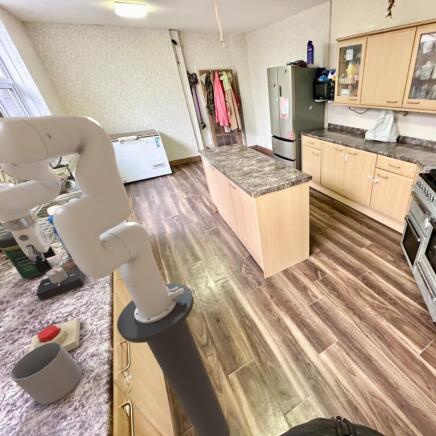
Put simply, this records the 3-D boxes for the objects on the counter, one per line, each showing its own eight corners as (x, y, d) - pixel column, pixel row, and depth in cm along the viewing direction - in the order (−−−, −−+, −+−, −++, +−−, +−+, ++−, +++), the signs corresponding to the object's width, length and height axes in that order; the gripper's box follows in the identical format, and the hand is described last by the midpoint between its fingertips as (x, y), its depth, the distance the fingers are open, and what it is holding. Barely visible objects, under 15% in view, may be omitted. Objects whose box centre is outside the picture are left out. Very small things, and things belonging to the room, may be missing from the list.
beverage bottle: (81, 259, 103) (57, 219, 93) (63, 259, 103) (38, 220, 94) (96, 248, 110) (75, 210, 101) (80, 248, 111) (57, 211, 101)
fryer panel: (84, 272, 94) (80, 266, 93) (83, 284, 88) (79, 278, 86) (45, 286, 88) (40, 280, 87) (40, 300, 82) (35, 294, 80)
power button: (60, 326, 67) (57, 322, 66) (59, 336, 64) (55, 332, 63) (42, 334, 65) (38, 330, 64) (39, 345, 62) (35, 341, 61)
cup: (83, 360, 62) (64, 335, 57) (80, 388, 55) (58, 363, 51) (41, 380, 57) (16, 356, 53) (32, 413, 51) (3, 388, 47)
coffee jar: (47, 274, 95) (19, 235, 86) (20, 282, 91) (-11, 242, 83) (53, 262, 102) (28, 225, 94) (28, 269, 99) (0, 231, 90)
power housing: (80, 322, 72) (74, 313, 71) (78, 346, 65) (71, 337, 63) (37, 341, 67) (28, 332, 65) (29, 369, 60) (20, 360, 58)
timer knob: (49, 282, 86) (43, 273, 84) (63, 274, 89) (57, 265, 87) (56, 284, 84) (49, 275, 82) (70, 276, 88) (64, 268, 86)
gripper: (30, 227, 71) (59, 271, 79) (40, 209, 83) (64, 248, 91) (-6, 236, 67) (29, 281, 75) (10, 216, 79) (38, 256, 87)
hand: (48, 263), depth 83 cm, fingers open, 9 cm apart
